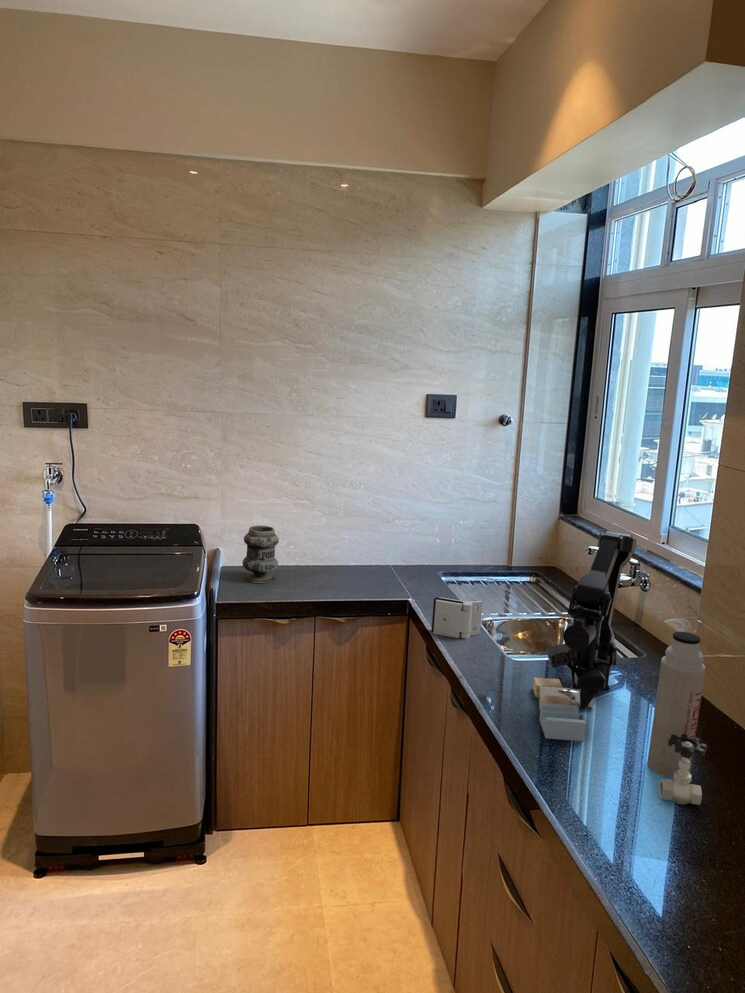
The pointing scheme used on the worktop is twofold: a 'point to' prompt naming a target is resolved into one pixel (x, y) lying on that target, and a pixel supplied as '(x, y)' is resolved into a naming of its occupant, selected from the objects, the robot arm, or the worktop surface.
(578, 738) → the v block
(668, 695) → the thermos bottle
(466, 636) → the hinge
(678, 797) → the valve
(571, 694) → the light grey bar
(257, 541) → the apothecary jar
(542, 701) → the beam
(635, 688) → the worktop surface
